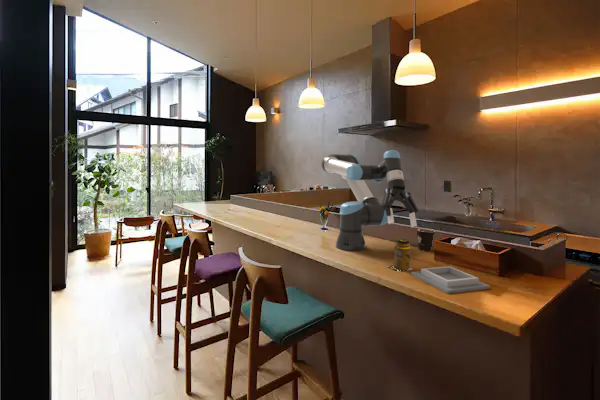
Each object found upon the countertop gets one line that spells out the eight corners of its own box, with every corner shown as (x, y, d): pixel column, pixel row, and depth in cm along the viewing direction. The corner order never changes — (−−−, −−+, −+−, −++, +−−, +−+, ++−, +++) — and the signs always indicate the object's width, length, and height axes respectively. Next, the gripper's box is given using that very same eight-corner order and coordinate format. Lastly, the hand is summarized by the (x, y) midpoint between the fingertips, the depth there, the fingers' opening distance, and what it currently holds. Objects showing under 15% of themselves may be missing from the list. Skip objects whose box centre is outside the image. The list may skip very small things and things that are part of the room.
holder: (411, 274, 130) (411, 266, 130) (449, 270, 135) (449, 263, 135) (447, 293, 111) (447, 284, 111) (489, 288, 116) (490, 280, 116)
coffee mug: (435, 252, 164) (436, 232, 163) (417, 251, 166) (418, 231, 164) (431, 246, 175) (432, 228, 174) (414, 245, 177) (415, 227, 176)
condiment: (413, 269, 136) (415, 241, 135) (397, 272, 133) (398, 242, 131) (401, 264, 143) (403, 237, 141) (385, 266, 139) (386, 238, 138)
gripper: (380, 173, 146) (387, 219, 138) (421, 183, 157) (429, 225, 149) (369, 180, 152) (375, 224, 144) (409, 189, 163) (416, 230, 155)
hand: (403, 225), depth 146 cm, fingers open, 13 cm apart
